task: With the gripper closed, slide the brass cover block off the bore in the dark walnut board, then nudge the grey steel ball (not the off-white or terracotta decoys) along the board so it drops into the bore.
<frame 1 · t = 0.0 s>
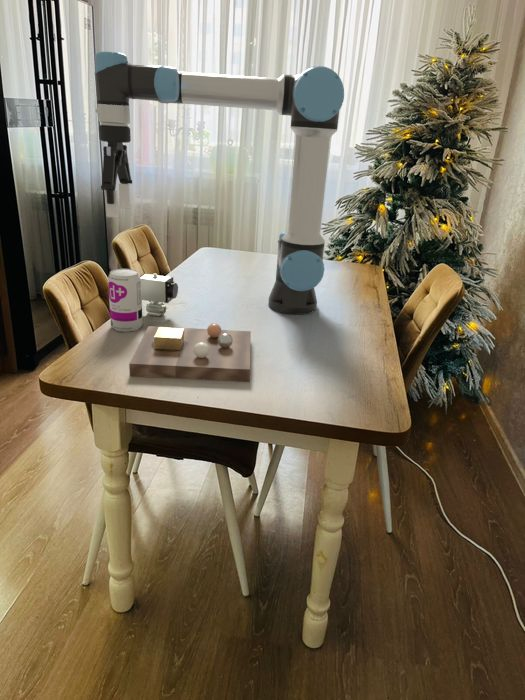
hand: (119, 212, 134), 28 cm above the table, fingers open, 13 cm apart
pneumatic valve: (156, 314, 146), on the table
board: (195, 357, 121), on the table
cover block: (169, 338, 119), point 5 cm above the table, slide at 0.0 cm
steel ball: (225, 340, 119), point 5 cm above the table, touching board
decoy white: (201, 350, 113), point 5 cm above the table, touching board
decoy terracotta: (214, 330, 124), point 5 cm above the table, touching board
supplement can: (127, 327, 136), on the table
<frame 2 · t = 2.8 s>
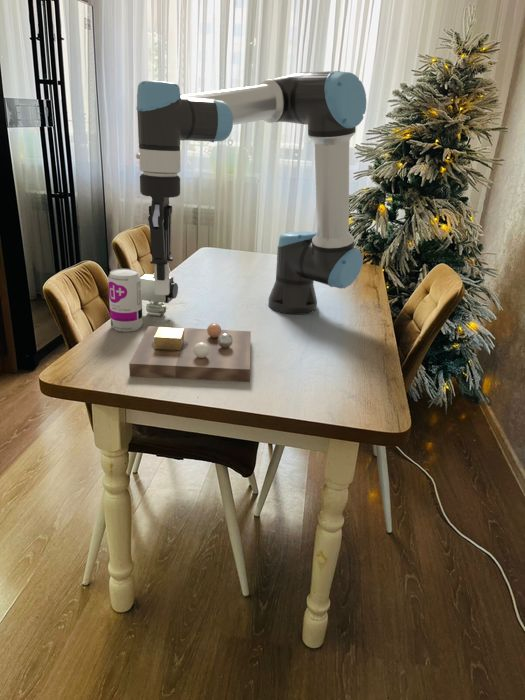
hand: (162, 293, 105), 18 cm above the table, fingers closed
nothing on the table moved.
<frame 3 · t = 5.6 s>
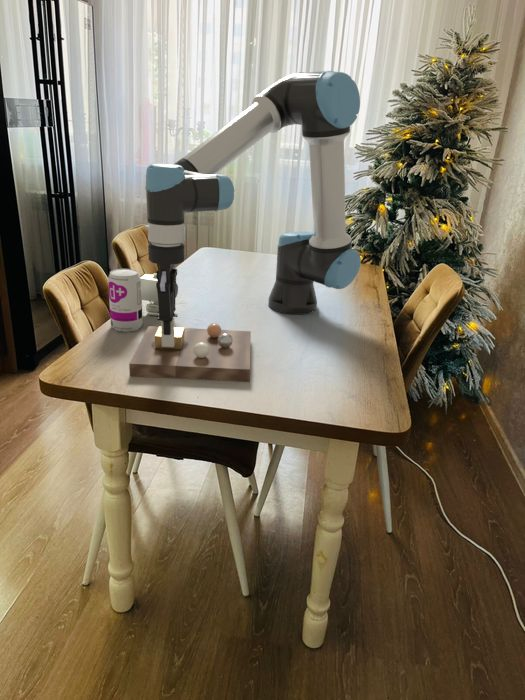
hand: (168, 345, 116), 4 cm above the table, fingers closed
cover block: (170, 337, 119), point 5 cm above the table, slide at 0.6 cm, touching gripper
everything else where it was.
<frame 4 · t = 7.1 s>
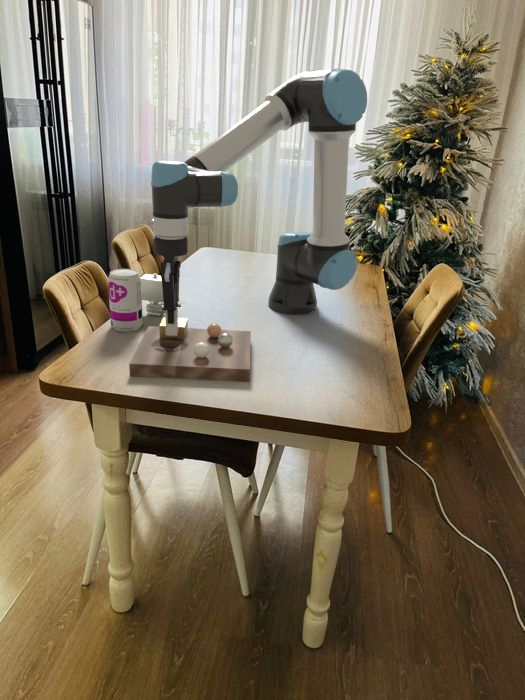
hand: (171, 334, 122), 4 cm above the table, fingers closed
cover block: (173, 327, 125), point 5 cm above the table, slide at 6.9 cm, touching gripper
everything else where it was.
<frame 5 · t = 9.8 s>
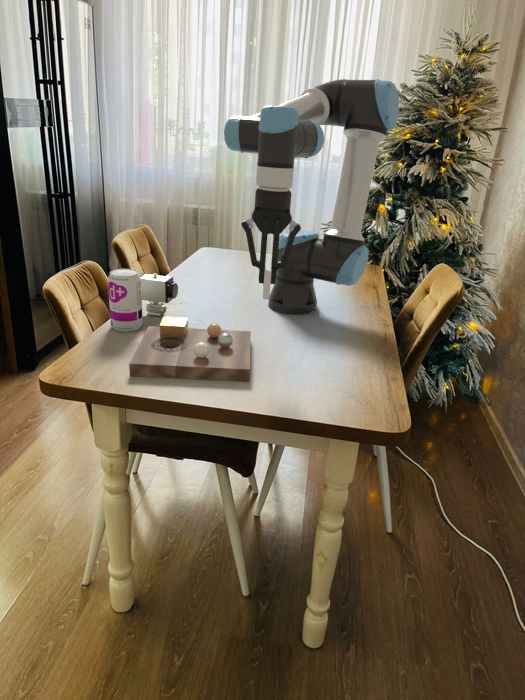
hand: (265, 297, 115), 16 cm above the table, fingers closed
cover block: (174, 327, 125), point 5 cm above the table, slide at 7.3 cm
everything else where it was.
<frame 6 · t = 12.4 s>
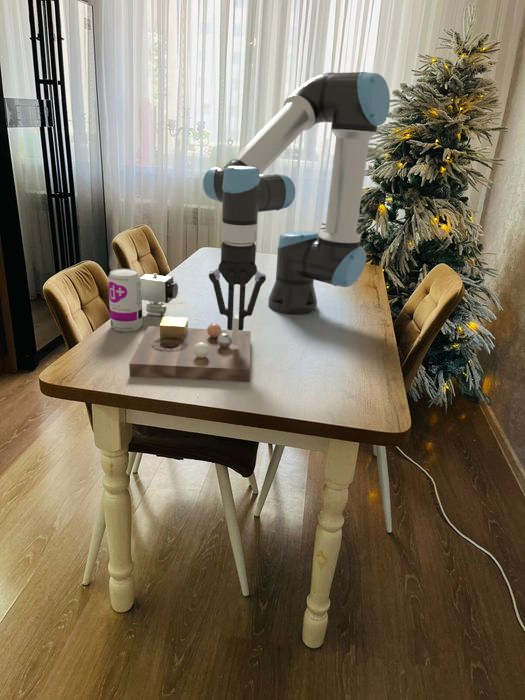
hand: (234, 342, 119), 5 cm above the table, fingers closed
steel ball: (224, 340, 119), point 5 cm above the table, tilted 5°, touching board, gripper
everything else where it was.
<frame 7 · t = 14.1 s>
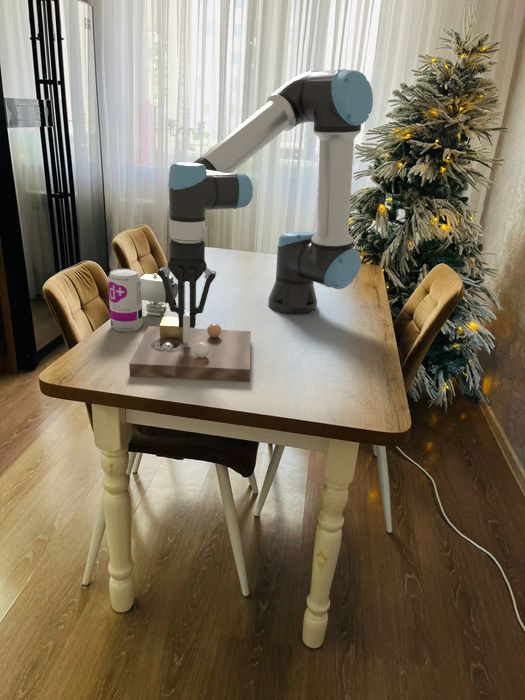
hand: (187, 339, 119), 5 cm above the table, fingers closed
steel ball: (167, 349, 120), point 2 cm above the table, tilted 104°
everything else where it was.
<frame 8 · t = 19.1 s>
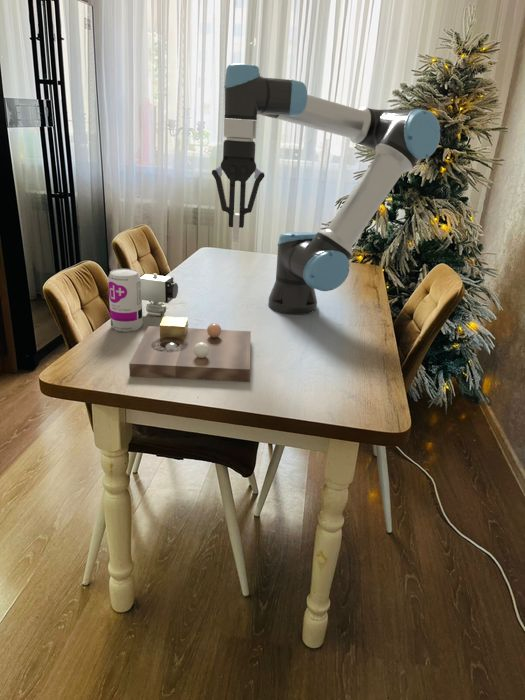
hand: (235, 240, 128), 24 cm above the table, fingers closed
steel ball: (171, 349, 120), point 2 cm above the table, tilted 74°
everything else where it was.
at the end: steel ball 0.4 cm from the target spot in the board, point 1.7 cm above the board's base; cover block slide at 7.3 cm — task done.
